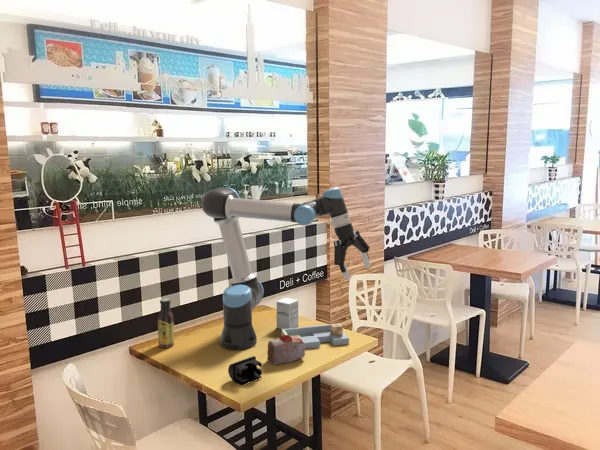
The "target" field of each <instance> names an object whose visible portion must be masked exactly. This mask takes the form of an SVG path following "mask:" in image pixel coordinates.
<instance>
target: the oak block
mask: <svg viewBox="0 0 600 450" xmlns="http://www.w3.org/2000/svg"><path fill="white" fill-rule="evenodd" d="M330 324H331V334H332V335H333V336H342V335H343V332H344V329H343V328H344V326H343V325H342V324H341V323H340V322H338V323H330Z"/></svg>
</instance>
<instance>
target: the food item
mask: <svg viewBox="0 0 600 450" xmlns="http://www.w3.org/2000/svg"><path fill="white" fill-rule="evenodd" d="M305 355H306V349H305V343H304V341H303V340H302V339H301V338H300V337H299V336H297V335H296V336H292V337H290V336H289V335H282V334H281V335H280V338H276V339H272V340H268V343H267V357H266V359H267V361H268V362H269V363H270V364H271V365H272V366H276V365H280V363H281V364H285V363H286V364H290V363H292V362H294V361H297V360H301V359H303V358H304V357H305Z"/></svg>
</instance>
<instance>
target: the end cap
mask: <svg viewBox="0 0 600 450" xmlns="http://www.w3.org/2000/svg"><path fill="white" fill-rule="evenodd" d="M262 367H263V365H262V362H261V361H259V360H257V357H256V356H254V355H253V356H250V357H247V358H244V359H242V360H238V361H235V362H233V363H230V364H229V365H228V368H227V369H228V375H229V378H230V379H231V380H232V382H234V383H235V384H237V385H238V384H239V385H238V386H240V385H243V386H245V385H244V384H246V383H248V382H251V381H253V382H255V381H254V380H256V379H258V380H260V379H259V378H261V379H262V374H263V370H262V369H261V368H262ZM256 381H257V380H256ZM251 383H252V382H251ZM248 384H249V383H248ZM246 385H247V384H246Z"/></svg>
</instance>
